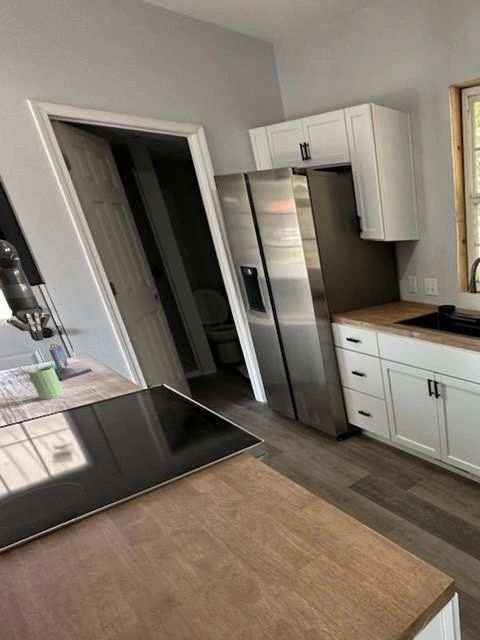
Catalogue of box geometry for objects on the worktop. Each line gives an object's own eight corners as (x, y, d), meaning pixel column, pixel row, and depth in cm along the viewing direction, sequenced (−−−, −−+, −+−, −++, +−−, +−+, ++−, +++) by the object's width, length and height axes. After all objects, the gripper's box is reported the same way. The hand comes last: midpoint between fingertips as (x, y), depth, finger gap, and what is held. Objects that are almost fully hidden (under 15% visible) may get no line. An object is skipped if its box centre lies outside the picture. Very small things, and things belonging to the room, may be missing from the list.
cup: (35, 399, 142) (22, 372, 138) (54, 393, 148) (43, 366, 144) (50, 400, 141) (37, 372, 138) (69, 393, 147) (58, 367, 143)
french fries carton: (65, 369, 173) (54, 344, 169) (55, 370, 172) (44, 345, 168) (69, 363, 180) (59, 340, 176) (60, 365, 178) (49, 341, 175)
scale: (32, 380, 161) (29, 373, 160) (63, 370, 171) (60, 364, 170) (62, 380, 160) (59, 373, 158) (92, 371, 170) (89, 364, 169)
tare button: (45, 370, 164) (43, 366, 163) (53, 368, 166) (51, 364, 166) (51, 370, 163) (49, 366, 163) (59, 368, 166) (57, 364, 165)
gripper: (31, 293, 161) (50, 336, 167) (-12, 298, 148) (9, 344, 155) (48, 293, 160) (66, 336, 166) (6, 298, 148) (27, 345, 154)
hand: (39, 340), depth 160 cm, fingers closed
